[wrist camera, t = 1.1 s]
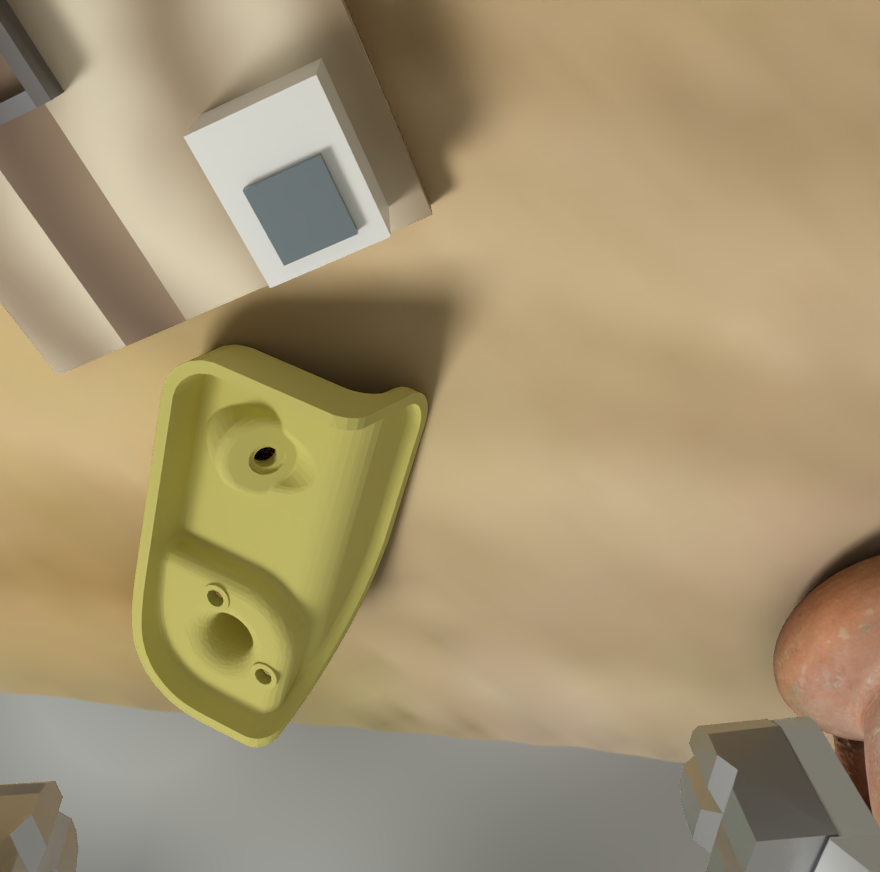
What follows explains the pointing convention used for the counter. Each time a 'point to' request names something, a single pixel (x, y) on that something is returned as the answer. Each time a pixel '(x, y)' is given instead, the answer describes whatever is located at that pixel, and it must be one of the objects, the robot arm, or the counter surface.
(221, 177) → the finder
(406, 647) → the counter surface
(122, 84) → the beige flat block
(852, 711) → the ceramic jug
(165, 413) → the plastic component
